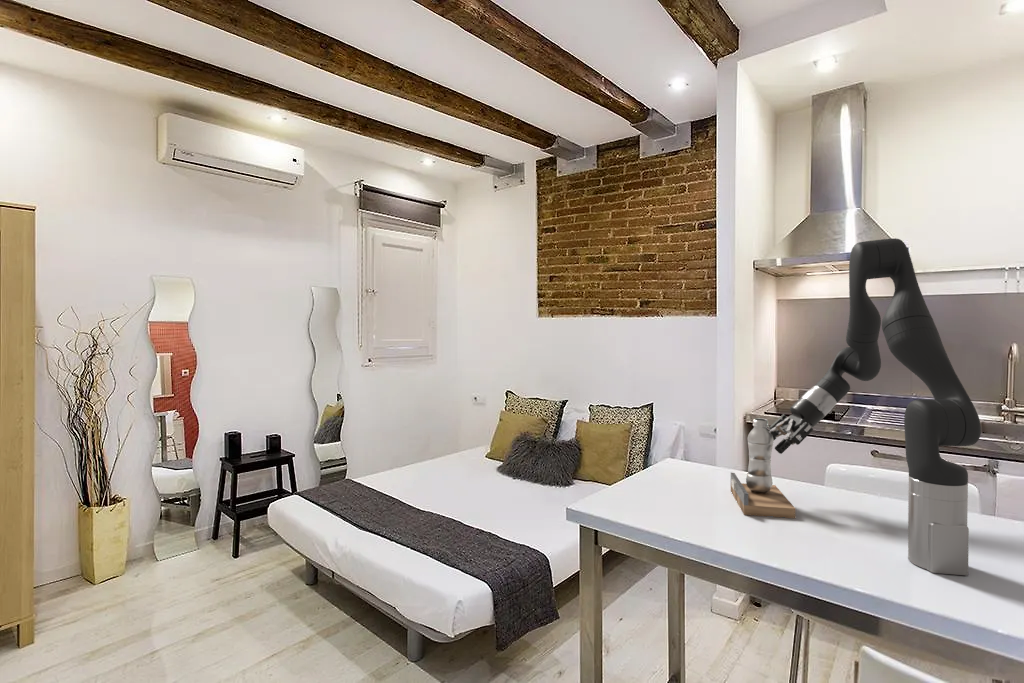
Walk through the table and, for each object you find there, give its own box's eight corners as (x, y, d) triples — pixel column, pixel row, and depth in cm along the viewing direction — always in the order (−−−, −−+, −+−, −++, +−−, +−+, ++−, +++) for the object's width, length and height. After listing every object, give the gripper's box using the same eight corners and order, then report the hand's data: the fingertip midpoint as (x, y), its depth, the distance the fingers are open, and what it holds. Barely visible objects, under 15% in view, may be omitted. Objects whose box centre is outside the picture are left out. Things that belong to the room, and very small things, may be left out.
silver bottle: (742, 487, 149) (743, 417, 148) (766, 487, 148) (767, 417, 147) (751, 494, 142) (752, 421, 141) (776, 495, 142) (778, 422, 141)
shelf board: (795, 518, 131) (795, 508, 131) (744, 514, 134) (744, 505, 134) (775, 493, 151) (775, 485, 151) (730, 491, 154) (730, 482, 153)
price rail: (748, 505, 134) (748, 493, 134) (741, 505, 134) (741, 493, 134) (734, 482, 153) (734, 472, 153) (728, 482, 154) (728, 472, 154)
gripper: (790, 393, 151) (750, 432, 152) (817, 400, 137) (772, 443, 138) (809, 411, 151) (768, 451, 152) (837, 420, 137) (792, 463, 137)
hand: (770, 447), depth 145 cm, fingers open, 8 cm apart
